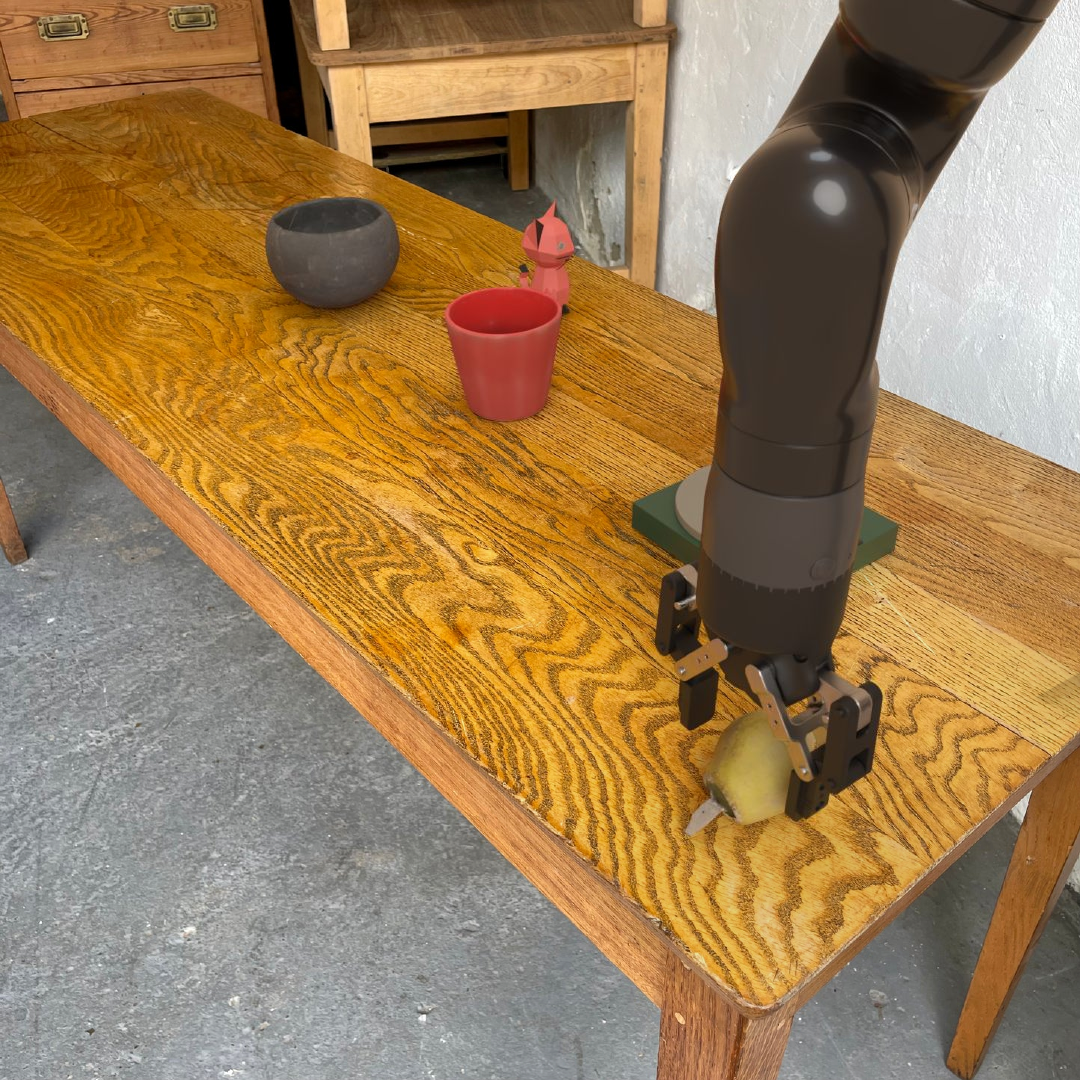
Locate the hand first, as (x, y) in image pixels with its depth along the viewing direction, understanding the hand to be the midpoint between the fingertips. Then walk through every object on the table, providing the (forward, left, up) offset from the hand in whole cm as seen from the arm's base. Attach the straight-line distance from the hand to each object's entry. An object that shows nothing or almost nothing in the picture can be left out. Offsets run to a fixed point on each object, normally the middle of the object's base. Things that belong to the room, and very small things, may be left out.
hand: (746, 764), depth 64 cm
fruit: (0, 0, -4) cm, 4 cm away
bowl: (+83, -16, -4) cm, 84 cm away
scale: (+19, -20, -3) cm, 28 cm away
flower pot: (+50, -17, -4) cm, 53 cm away
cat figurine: (+64, -32, -4) cm, 71 cm away
